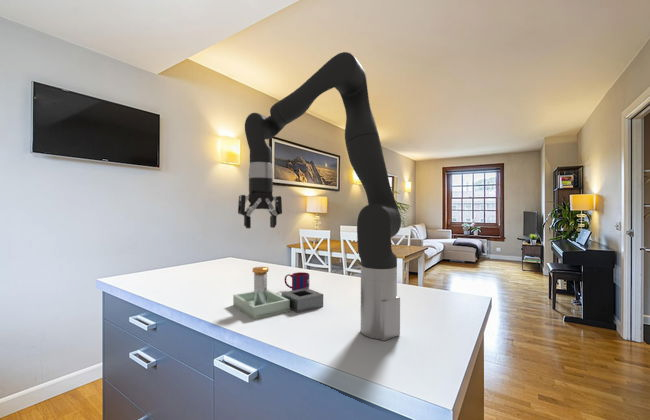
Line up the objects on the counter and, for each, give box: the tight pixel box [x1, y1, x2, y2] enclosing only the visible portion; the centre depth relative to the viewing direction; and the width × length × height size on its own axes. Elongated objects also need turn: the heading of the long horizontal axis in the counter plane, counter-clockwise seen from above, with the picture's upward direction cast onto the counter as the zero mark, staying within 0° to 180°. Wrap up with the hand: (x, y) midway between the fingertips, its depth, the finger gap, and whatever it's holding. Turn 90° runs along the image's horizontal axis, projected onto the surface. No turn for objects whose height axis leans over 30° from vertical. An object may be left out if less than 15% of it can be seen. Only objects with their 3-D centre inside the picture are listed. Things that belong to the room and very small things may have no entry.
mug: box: [284, 271, 310, 291], centre depth 117 cm, size 7×10×7 cm
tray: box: [232, 289, 291, 320], centre depth 96 cm, size 16×12×3 cm
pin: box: [252, 266, 269, 306], centre depth 96 cm, size 5×5×12 cm
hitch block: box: [280, 288, 324, 314], centre depth 99 cm, size 10×10×4 cm
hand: (260, 227), depth 96 cm, fingers open, 8 cm apart
